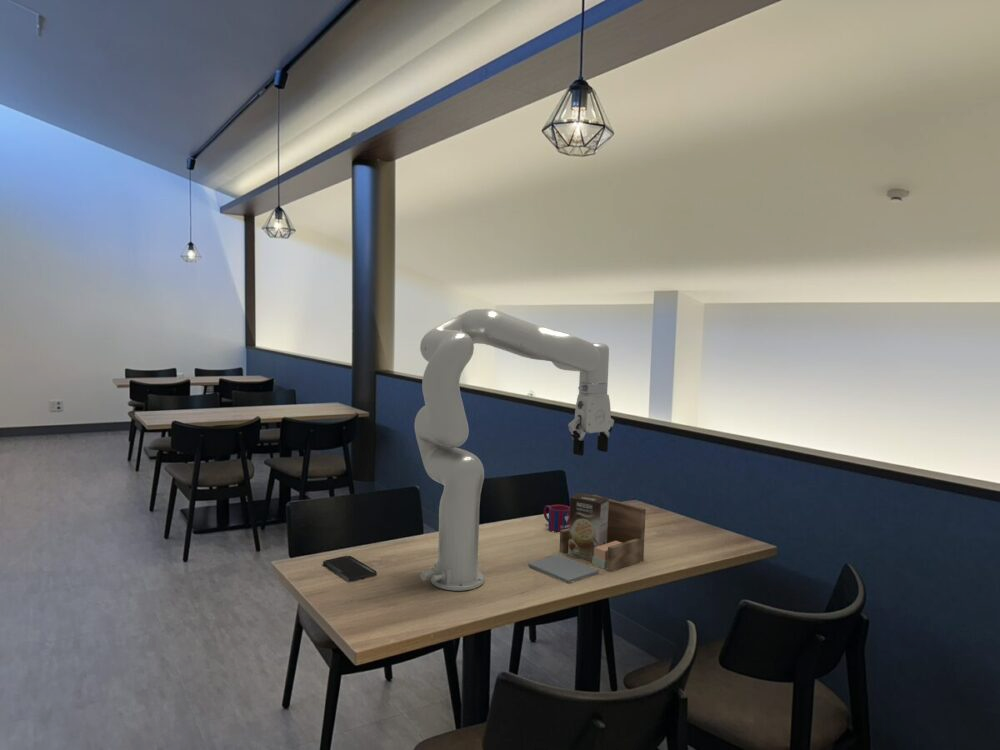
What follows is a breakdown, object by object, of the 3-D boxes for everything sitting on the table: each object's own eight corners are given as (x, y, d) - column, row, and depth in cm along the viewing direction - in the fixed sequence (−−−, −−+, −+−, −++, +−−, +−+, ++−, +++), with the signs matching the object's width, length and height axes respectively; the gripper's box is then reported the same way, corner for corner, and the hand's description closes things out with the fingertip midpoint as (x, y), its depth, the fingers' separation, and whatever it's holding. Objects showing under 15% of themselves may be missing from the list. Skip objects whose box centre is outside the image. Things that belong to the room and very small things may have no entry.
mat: (568, 583, 158) (568, 580, 158) (528, 566, 169) (528, 563, 169) (598, 573, 166) (598, 570, 166) (558, 557, 176) (558, 554, 176)
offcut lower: (604, 570, 169) (604, 560, 169) (592, 565, 172) (592, 556, 172) (628, 562, 176) (628, 553, 175) (616, 558, 179) (616, 548, 178)
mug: (557, 534, 197) (558, 511, 196) (537, 525, 205) (538, 503, 204) (574, 530, 200) (575, 508, 200) (554, 522, 209) (555, 501, 208)
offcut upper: (604, 560, 169) (605, 551, 169) (593, 556, 172) (594, 547, 171) (626, 553, 175) (626, 544, 175) (615, 549, 178) (615, 540, 177)
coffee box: (566, 555, 178) (568, 497, 177) (576, 549, 184) (578, 492, 182) (598, 562, 173) (600, 502, 172) (607, 556, 179) (609, 497, 178)
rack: (610, 571, 167) (612, 517, 166) (559, 552, 181) (561, 501, 180) (643, 560, 176) (645, 508, 175) (592, 542, 190) (594, 494, 189)
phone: (349, 555, 172) (378, 572, 160) (349, 559, 172) (378, 576, 160) (320, 561, 166) (348, 579, 155) (320, 565, 166) (348, 584, 155)
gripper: (581, 392, 167) (579, 458, 168) (624, 389, 179) (622, 452, 180) (560, 389, 173) (558, 453, 174) (603, 387, 184) (600, 447, 185)
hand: (590, 452), depth 177 cm, fingers open, 9 cm apart
